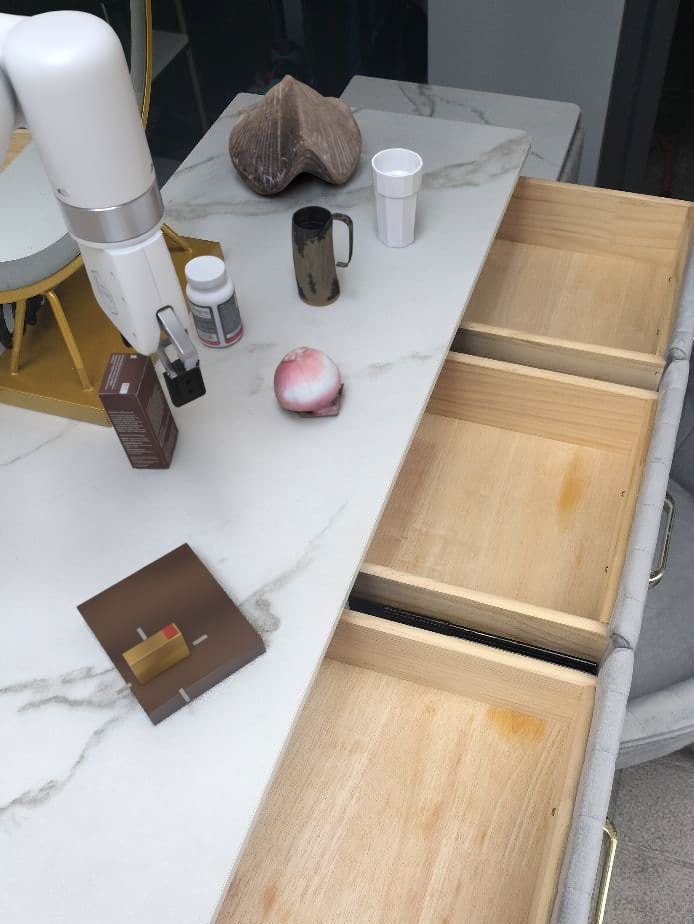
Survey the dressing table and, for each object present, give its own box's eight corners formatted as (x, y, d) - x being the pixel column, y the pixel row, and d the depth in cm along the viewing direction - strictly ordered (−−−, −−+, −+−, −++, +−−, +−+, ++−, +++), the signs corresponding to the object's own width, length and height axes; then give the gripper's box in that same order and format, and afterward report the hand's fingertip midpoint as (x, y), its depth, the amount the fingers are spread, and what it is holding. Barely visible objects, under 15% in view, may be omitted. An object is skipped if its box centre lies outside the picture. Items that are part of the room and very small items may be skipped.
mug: (290, 301, 107) (280, 219, 97) (306, 275, 110) (297, 193, 100) (348, 313, 105) (343, 231, 95) (361, 287, 108) (358, 205, 98)
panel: (73, 625, 79) (64, 612, 77) (191, 555, 84) (185, 540, 82) (149, 742, 72) (141, 731, 70) (272, 659, 77) (269, 646, 75)
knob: (141, 685, 73) (129, 664, 69) (134, 674, 73) (121, 652, 70) (191, 654, 75) (180, 632, 71) (183, 643, 75) (172, 621, 72)
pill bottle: (237, 314, 105) (224, 248, 97) (248, 343, 102) (235, 276, 94) (193, 324, 104) (175, 258, 96) (203, 353, 101) (186, 288, 93)
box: (140, 430, 94) (109, 350, 84) (179, 431, 93) (153, 351, 84) (128, 470, 90) (95, 392, 80) (168, 472, 90) (140, 394, 80)
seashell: (213, 99, 119) (269, 41, 108) (305, 126, 130) (364, 76, 119) (230, 205, 119) (287, 157, 108) (321, 223, 130) (382, 181, 119)
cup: (413, 219, 117) (414, 145, 108) (426, 246, 113) (428, 172, 104) (368, 226, 116) (366, 152, 107) (380, 254, 112) (378, 180, 103)
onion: (317, 370, 99) (312, 324, 93) (358, 405, 96) (355, 359, 90) (264, 401, 96) (255, 355, 90) (304, 438, 93) (297, 393, 87)
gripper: (19, 167, 65) (87, 335, 79) (116, 280, 57) (172, 443, 71) (107, 137, 67) (157, 304, 81) (211, 240, 59) (247, 405, 74)
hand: (164, 369), depth 76 cm, fingers open, 9 cm apart
